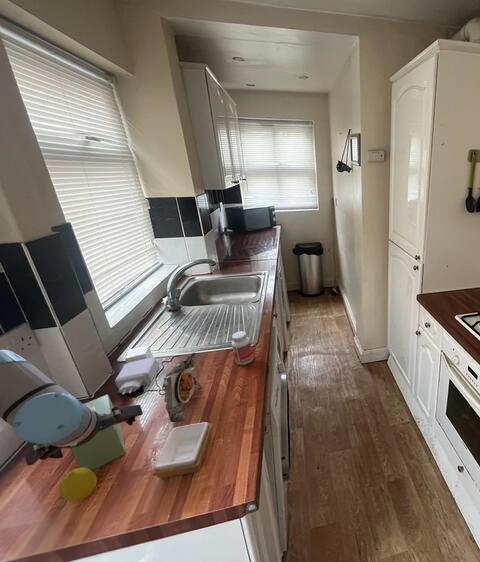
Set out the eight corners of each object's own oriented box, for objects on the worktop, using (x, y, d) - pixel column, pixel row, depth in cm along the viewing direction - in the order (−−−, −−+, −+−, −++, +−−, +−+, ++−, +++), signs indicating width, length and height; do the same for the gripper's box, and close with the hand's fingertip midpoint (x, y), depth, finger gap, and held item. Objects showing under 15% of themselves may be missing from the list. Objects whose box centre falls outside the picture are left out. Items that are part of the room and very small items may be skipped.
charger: (111, 403, 94) (129, 374, 107) (146, 395, 97) (159, 367, 110) (105, 391, 92) (124, 362, 105) (141, 383, 95) (155, 356, 108)
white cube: (130, 372, 108) (124, 358, 106) (134, 363, 113) (129, 349, 111) (150, 367, 110) (145, 353, 108) (153, 358, 115) (148, 345, 113)
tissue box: (84, 474, 73) (66, 443, 69) (83, 438, 83) (67, 409, 79) (126, 453, 78) (111, 423, 74) (120, 421, 87) (107, 393, 84)
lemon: (64, 514, 65) (47, 489, 62) (75, 490, 69) (60, 465, 66) (96, 503, 67) (82, 478, 64) (105, 480, 71) (92, 456, 68)
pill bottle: (257, 356, 115) (251, 330, 111) (247, 366, 109) (241, 340, 105) (242, 354, 116) (236, 329, 112) (232, 364, 110) (225, 338, 106)
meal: (187, 421, 87) (174, 384, 82) (171, 423, 86) (157, 386, 81) (205, 385, 101) (195, 351, 96) (191, 386, 100) (180, 353, 95)
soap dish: (176, 439, 81) (171, 425, 79) (216, 432, 83) (211, 418, 81) (155, 485, 70) (148, 470, 68) (201, 476, 72) (196, 460, 70)
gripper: (-20, 488, 52) (29, 484, 68) (152, 409, 68) (159, 421, 84) (-29, 446, 54) (20, 451, 70) (141, 379, 69) (150, 396, 85)
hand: (96, 435), depth 77 cm, fingers open, 13 cm apart
